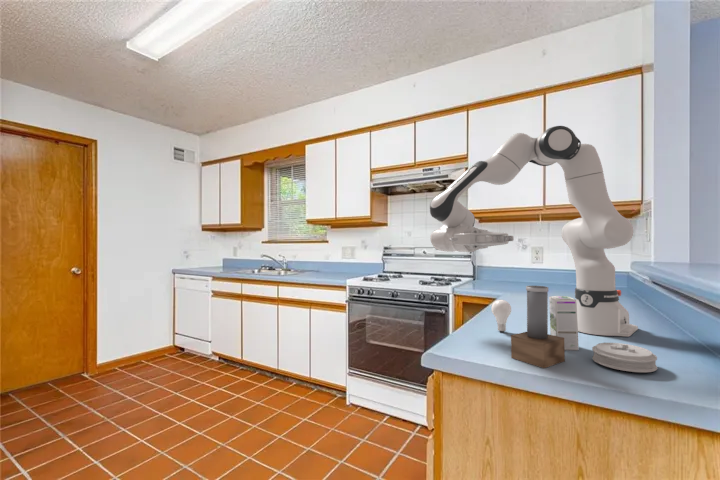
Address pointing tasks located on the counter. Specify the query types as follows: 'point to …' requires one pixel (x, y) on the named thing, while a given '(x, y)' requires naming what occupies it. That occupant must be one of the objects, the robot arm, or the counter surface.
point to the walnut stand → (538, 350)
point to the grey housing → (537, 312)
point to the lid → (624, 357)
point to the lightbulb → (501, 313)
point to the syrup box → (564, 320)
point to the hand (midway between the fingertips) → (502, 238)
